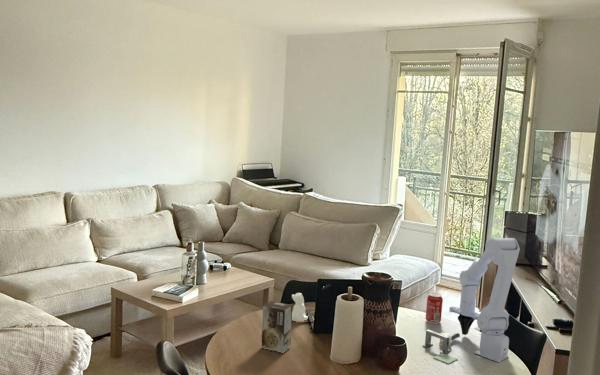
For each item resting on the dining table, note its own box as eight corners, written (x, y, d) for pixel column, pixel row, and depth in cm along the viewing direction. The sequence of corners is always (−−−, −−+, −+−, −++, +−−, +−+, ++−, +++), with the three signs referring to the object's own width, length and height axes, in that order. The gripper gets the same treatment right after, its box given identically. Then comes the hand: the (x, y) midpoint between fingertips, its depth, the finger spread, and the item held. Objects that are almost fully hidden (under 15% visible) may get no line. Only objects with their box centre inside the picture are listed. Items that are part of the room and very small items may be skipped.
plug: (462, 341, 214) (463, 331, 214) (445, 349, 206) (446, 339, 205) (452, 338, 217) (453, 328, 217) (435, 345, 209) (436, 335, 208)
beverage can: (439, 320, 237) (441, 293, 236) (441, 325, 231) (444, 297, 229) (424, 318, 238) (426, 291, 236) (426, 324, 231) (428, 296, 230)
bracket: (450, 351, 204) (451, 336, 203) (443, 354, 201) (444, 338, 200) (429, 343, 210) (430, 328, 210) (422, 346, 207) (423, 331, 206)
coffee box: (291, 348, 199) (293, 304, 197) (283, 354, 193) (285, 310, 192) (268, 342, 203) (271, 300, 201) (260, 348, 197) (262, 305, 195)
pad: (457, 359, 197) (457, 358, 197) (448, 364, 193) (448, 363, 193) (442, 354, 201) (442, 353, 201) (433, 358, 197) (433, 357, 197)
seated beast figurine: (315, 321, 227) (316, 293, 225) (300, 326, 221) (302, 297, 219) (298, 315, 233) (300, 288, 232) (284, 320, 227) (285, 291, 226)
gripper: (490, 304, 215) (486, 337, 217) (457, 294, 226) (454, 326, 227) (481, 307, 210) (477, 341, 212) (447, 297, 221) (444, 330, 222)
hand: (464, 334), depth 219 cm, fingers closed
